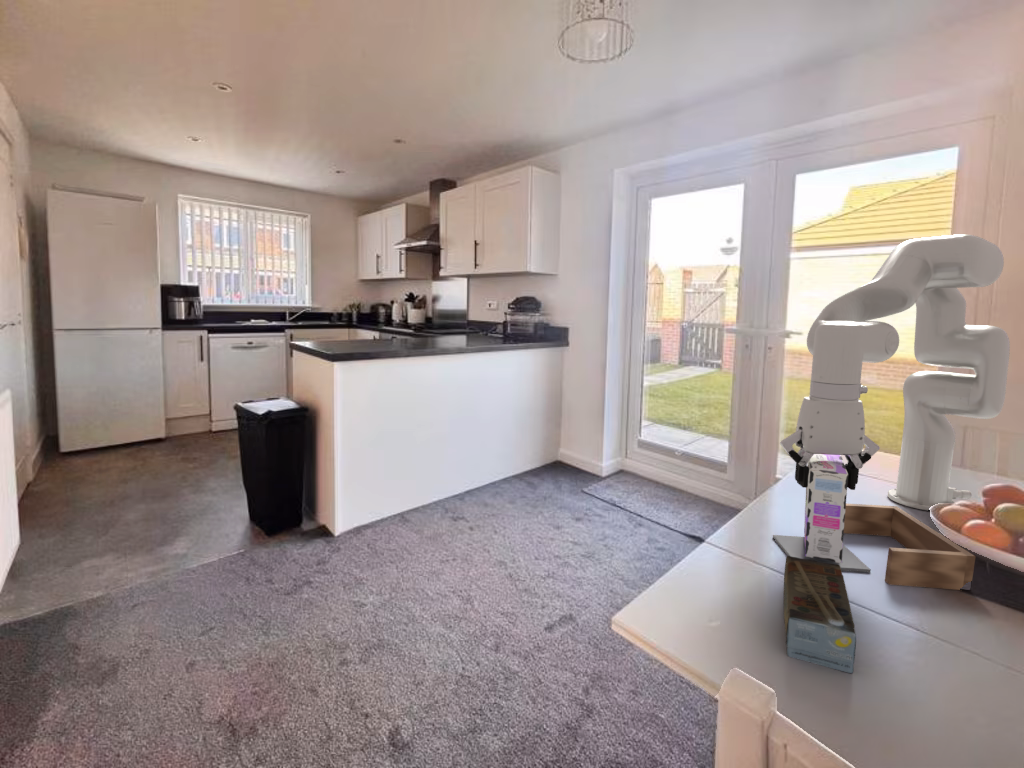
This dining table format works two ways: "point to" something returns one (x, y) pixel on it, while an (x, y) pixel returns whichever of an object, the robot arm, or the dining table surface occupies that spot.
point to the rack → (912, 548)
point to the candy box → (825, 507)
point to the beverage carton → (818, 614)
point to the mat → (796, 548)
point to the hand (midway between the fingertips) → (825, 485)
